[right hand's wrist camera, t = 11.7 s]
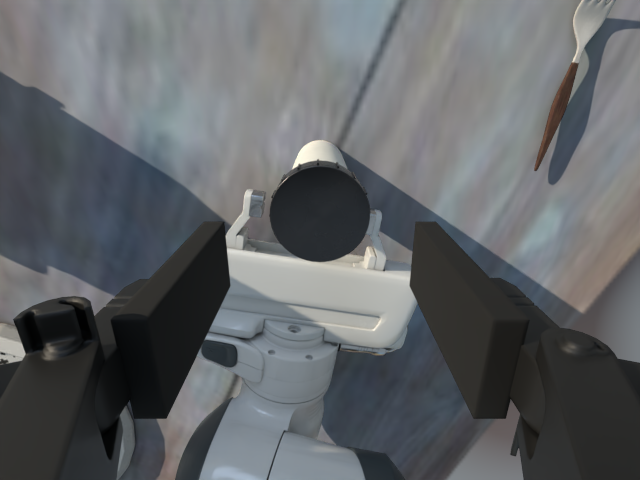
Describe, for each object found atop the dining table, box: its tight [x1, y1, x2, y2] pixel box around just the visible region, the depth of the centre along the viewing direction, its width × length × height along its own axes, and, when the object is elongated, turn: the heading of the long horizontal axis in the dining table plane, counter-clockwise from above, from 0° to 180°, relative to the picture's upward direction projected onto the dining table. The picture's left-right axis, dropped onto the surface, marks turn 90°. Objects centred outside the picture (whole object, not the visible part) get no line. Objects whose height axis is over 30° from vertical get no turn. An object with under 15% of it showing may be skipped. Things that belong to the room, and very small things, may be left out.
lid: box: [269, 159, 371, 262], centre depth 20 cm, size 5×5×2 cm
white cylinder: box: [293, 140, 347, 169], centre depth 26 cm, size 4×4×16 cm
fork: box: [534, 0, 616, 171], centre depth 30 cm, size 3×16×2 cm, turn 171°
